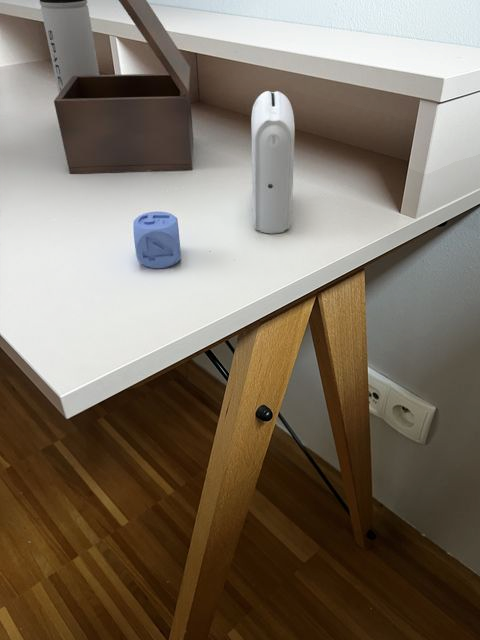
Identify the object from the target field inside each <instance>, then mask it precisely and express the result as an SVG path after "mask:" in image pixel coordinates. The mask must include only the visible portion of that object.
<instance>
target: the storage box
mask: <svg viewBox="0 0 480 640" xmlns="http://www.w3.org/2000/svg"><path fill="white" fill-rule="evenodd" d="M53 104H54V108H55V113H56V118H57V123H58V127H59V131H60V136H61V141H62V145H63V151H64V154H65V159H66V163H67V167H68V172H69V174H70V175H74V174H75V175H76V174H100V173H101V174H103V173H105V174H107V173H108V172H109V173H128V172H127V171H140V172H148V171H147V170H172V171H192V170H193V164H194V163H193V161H194V159H193V158H194V128H193V115H192V102H191V89H190V86H189V92H188V93H186V94H185V95H183V94H182V93H181V91H180V90H179V88H178V87H177V85H176V84H175V82H174V81H173V79H172V78H171V76H170V75H169V74H168V73H133V74H132V73H131V74H130V73H129V74H99V75H77V76H72V77H71V79H70V80H69V81H68V83H67V84H66V85H65V87H64V88H63V89H62V91H61V92H60V93H59V92H58V95H57V96H56V97H55V98H54V100H53ZM125 171H126V172H125Z"/></svg>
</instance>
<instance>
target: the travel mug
mask: <svg viewBox="0 0 480 640" xmlns="http://www.w3.org/2000/svg"><path fill="white" fill-rule="evenodd" d="M39 5H40V12H41V15H42V20H43V25H44V30H45V35H46V39H47V44H48V48H49V53H50V59H51V63H52V67H53V72H54V76H55V82H56V87H57V91H58V94H59V93H60V92H61V91H62V89H63V88H64V87H65V85H66V84H67V83H68V81H69V80H70V79H71V77H72V76H77V75H100V70H99V63H98V58H97V52H96V46H95V40H94V33H93V27H92V23H91V16H90V10H89V6H88V0H39Z"/></svg>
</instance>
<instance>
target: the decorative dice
mask: <svg viewBox="0 0 480 640" xmlns="http://www.w3.org/2000/svg"><path fill="white" fill-rule="evenodd" d="M132 223H133V239H134V240H133V243H134V248H135V254H136V259H137V262H138V263H140V264H141V265H142V266H145V267H147V268H150V269H165V268H170V267H172V266H174V265H175V264H177V263H178V262H179V261H180V260H181V259H182V255H181V254H182V252H181V243H180V242H181V240H180V229H179V222H178V217H176V216H175V215H174V214H172V213H171V212H166V211H149V212H145V213H142V214H140V215H138V216H137V217H135V219H134V220H133V222H132Z"/></svg>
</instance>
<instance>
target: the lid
mask: <svg viewBox="0 0 480 640" xmlns="http://www.w3.org/2000/svg"><path fill="white" fill-rule="evenodd" d="M118 2H119V3H120V4H121V6H122V7H123V9H124V11H125V12H126V13H127V15H128V16H129V18H130V19H131V21H132V22H133V24H134V25H135V27H136V28H137V29H138V31H139V32H140V34H141V35H142V37H143V38H144V40H145V41H146V43H147V44H148V46H149V47H150V49H151V50H152V51H153V54H155V56H156V57H157V59H158V60H159V62H160V63H161V65H162V66H163V68H164V69H165V71H166V72H167V74H169V75H170V76H171V78H172V79H173V81H174V82H175V84H176V85H177V87H178V88H179V90H180V91H181V93H182V94H183V95H185V94H186V93H188V92H189V87H190V78H191V66H190V65H189V63H188V62H187V60H186V58H185V57H184V56H183V54H182V52H181V51H180V49H179V48H178V47H177V45H176V43H175V42H174V40H173V39H172V37H171V36H170V34H169V33H168V31H167V29H166V27H164V24H163V23H162V22H161V21H160V19H159V17H158V16H157V14H156V13H155V10H153V8H152V7H151V5H150V4H149V2H148V1H147V0H118Z"/></svg>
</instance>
